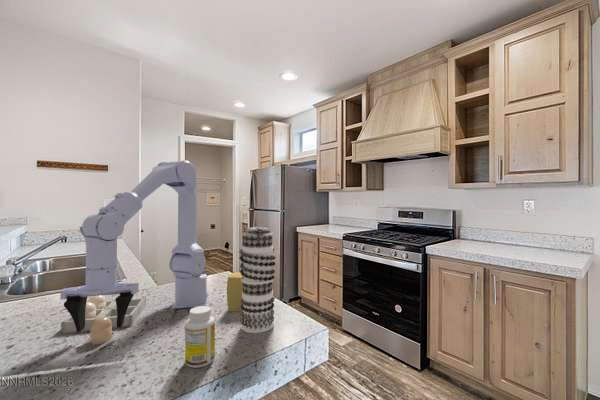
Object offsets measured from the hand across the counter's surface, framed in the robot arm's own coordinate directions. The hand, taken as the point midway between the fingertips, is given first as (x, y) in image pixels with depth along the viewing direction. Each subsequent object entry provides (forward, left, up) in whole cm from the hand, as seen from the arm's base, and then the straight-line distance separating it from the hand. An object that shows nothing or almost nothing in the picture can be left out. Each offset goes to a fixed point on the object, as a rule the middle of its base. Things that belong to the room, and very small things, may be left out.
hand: (100, 327), depth 62 cm
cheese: (-34, -14, -4) cm, 37 cm away
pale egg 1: (+7, -10, -3) cm, 12 cm away
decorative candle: (-35, +1, -3) cm, 35 cm away
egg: (0, 0, -3) cm, 3 cm away
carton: (+3, -13, -3) cm, 14 cm away
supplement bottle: (-22, +14, -3) cm, 26 cm away
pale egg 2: (+7, -16, -3) cm, 18 cm away
